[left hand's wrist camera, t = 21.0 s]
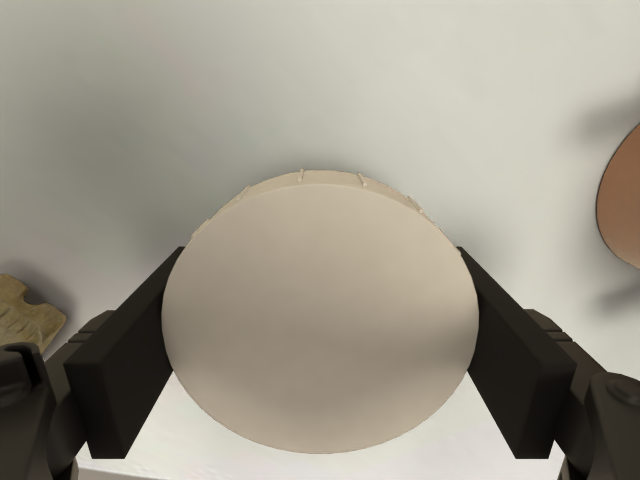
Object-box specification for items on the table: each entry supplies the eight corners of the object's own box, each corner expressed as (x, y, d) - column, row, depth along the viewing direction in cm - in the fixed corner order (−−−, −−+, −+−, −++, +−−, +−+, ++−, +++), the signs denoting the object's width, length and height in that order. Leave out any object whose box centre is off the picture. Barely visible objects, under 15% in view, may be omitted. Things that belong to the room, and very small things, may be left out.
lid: (131, 314, 12) (97, 352, 11) (303, 98, 10) (299, 96, 8) (330, 442, 15) (331, 494, 13) (512, 290, 12) (548, 325, 10)
